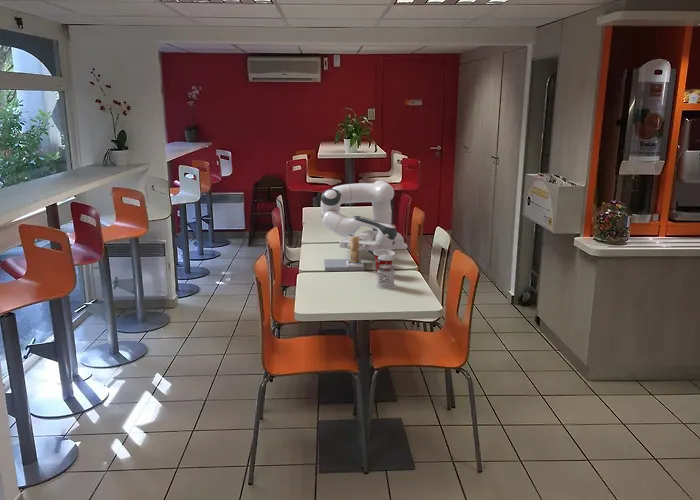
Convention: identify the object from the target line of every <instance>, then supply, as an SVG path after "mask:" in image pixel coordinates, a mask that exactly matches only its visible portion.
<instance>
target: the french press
mask: <svg viewBox="0 0 700 500" xmlns="http://www.w3.org/2000/svg"><path fill="white" fill-rule="evenodd" d="M385 237H389V235H388V234H385ZM395 259H396V258H395V256H392V255H389V254H387V240H386V254H383V255H380V256H379V257H378V260H382V261H386V263H387V261H392V262H393V261H394V260H395ZM376 261H377V260H376ZM379 262H380V261H379ZM379 262H378V263H379ZM372 265H373V269H372V271H373V272H374V274H375V275H376V276H377V284H375V288H377V289H380V290H393V289H396V288H397V285H396V284H395V265H393V264H391V265H388V264H384V265H383V264H382V265H379V269H378V274H377V269H376V262H375V261H374V262H373V263H372ZM387 269H388V270H390V271H384V270H387ZM383 271H384V272H383ZM384 275H385V276H384Z"/></svg>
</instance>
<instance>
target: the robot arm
mask: <svg viewBox="0 0 700 500" xmlns="http://www.w3.org/2000/svg"><path fill="white" fill-rule="evenodd" d="M394 196H395V191H394V187H393V186H392V185H391V184H390V183H388V182H386V181H385V180H381V179H380V180H375V182H372V183H371V182H370V183H369V182H368V183H367V182H366V183H365V182H358V183H346V184H340V185H335V186H334V187H332V188H329V189H325V190H324V191H322V194H321V197H320V210H321V211H320V213H321V218H322V224H323V226H325V227H326V228H327V229H328V230H329V231H331V232H332V233H335V234H336V235H338V236H340V237H342V239H340V240H339V244H338V246H339V248H341V249H347V250H350V237H353V236H356V237H359V247H358V248H359V249H358V250H359V252H365V251H367V252H369V254H371V255H373V256H374V253H373V251H375V250H378V249H386V240H387V250H391V251H395V249H396V250H407V249H408V244H407V243H405V242H404V237H403V235H402V234H401V233H399V232H398V231H397V226H396V225H395V224H394V223H392V212H393V211H392V206H391V205H392V204H391V201H392V200H393V198H394ZM354 203H356V204H357V203H371V206H372V219H371V218H369V217H364V216H361V215H354V216H352V217H349V216H346V215H344V214H341V213H340V211H341V205H342V204H354ZM362 227H366V228H370V229H369V230H365V231H363V232H361V233H360V234H355V233H356V232H357V231H359V229H360V228H362ZM385 234H388V235H389V237H385Z"/></svg>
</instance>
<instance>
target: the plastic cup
mask: <svg viewBox="0 0 700 500" xmlns="http://www.w3.org/2000/svg"><path fill="white" fill-rule="evenodd" d="M373 253H374V255H373V256H374V260H375V262H376V263H375V262H374V263H375V270H376V271H377V272H376V274H377V275H378V269H379V265H382V264H383V265H384V264H388V265H393V264H392V263H393V260H392V261H387V263H386V261H382V260H378V257H379V256H380V255H383V254H386V249H378V250H375V251H373ZM387 254H389V255H392V256H393V257H395V255H396V252H395V250H387ZM376 260H377V261H376ZM379 261H380V262H379ZM378 262H379V263H378ZM384 271H391V270H388V269H387V270H384ZM384 271H383V272H384ZM384 277H385V275H384Z"/></svg>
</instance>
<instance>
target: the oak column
mask: <svg viewBox="0 0 700 500" xmlns="http://www.w3.org/2000/svg"><path fill="white" fill-rule="evenodd" d="M358 247H359V237H356V236H353V237H350V249H349V250H350V251H349V254H350V258H349V259H350V262H351V263H359V259H360V251H359V250H358V249H359V248H358Z"/></svg>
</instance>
